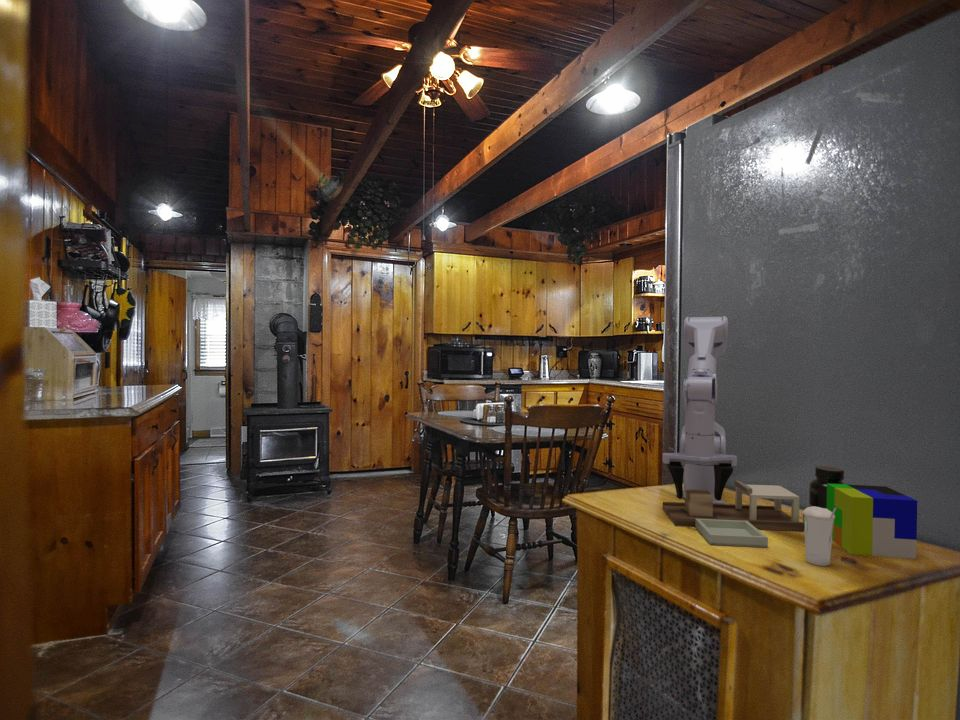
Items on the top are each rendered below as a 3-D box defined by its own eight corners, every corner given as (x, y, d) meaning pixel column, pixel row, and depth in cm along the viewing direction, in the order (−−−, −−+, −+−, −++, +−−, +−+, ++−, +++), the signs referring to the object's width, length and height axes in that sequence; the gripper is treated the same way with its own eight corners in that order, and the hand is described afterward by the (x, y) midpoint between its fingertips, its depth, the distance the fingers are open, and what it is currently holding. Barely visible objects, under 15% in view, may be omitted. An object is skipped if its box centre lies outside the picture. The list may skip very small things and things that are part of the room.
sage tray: (695, 527, 108) (695, 518, 108) (747, 529, 107) (747, 520, 107) (710, 544, 98) (710, 535, 98) (767, 547, 97) (767, 537, 97)
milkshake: (823, 571, 87) (824, 508, 86) (795, 559, 92) (796, 499, 92) (845, 568, 88) (846, 506, 88) (816, 556, 93) (817, 498, 93)
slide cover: (732, 507, 118) (733, 479, 118) (779, 509, 117) (779, 481, 116) (748, 520, 109) (749, 489, 109) (798, 522, 108) (799, 491, 108)
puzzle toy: (916, 559, 92) (917, 500, 92) (850, 554, 94) (851, 497, 94) (885, 539, 102) (886, 486, 102) (826, 535, 104) (827, 483, 104)
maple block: (684, 509, 117) (685, 489, 116) (706, 510, 116) (706, 489, 116) (690, 515, 112) (690, 494, 112) (712, 516, 112) (712, 495, 112)
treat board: (662, 508, 121) (662, 501, 121) (779, 513, 118) (779, 506, 118) (675, 525, 109) (675, 517, 109) (805, 531, 106) (805, 523, 106)
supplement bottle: (803, 528, 108) (804, 468, 108) (813, 520, 113) (813, 463, 113) (844, 536, 103) (845, 473, 103) (852, 528, 108) (853, 468, 108)
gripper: (668, 435, 111) (667, 502, 111) (742, 437, 109) (741, 505, 109) (660, 430, 118) (659, 493, 118) (730, 432, 116) (729, 496, 116)
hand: (698, 498), depth 114 cm, fingers open, 7 cm apart
